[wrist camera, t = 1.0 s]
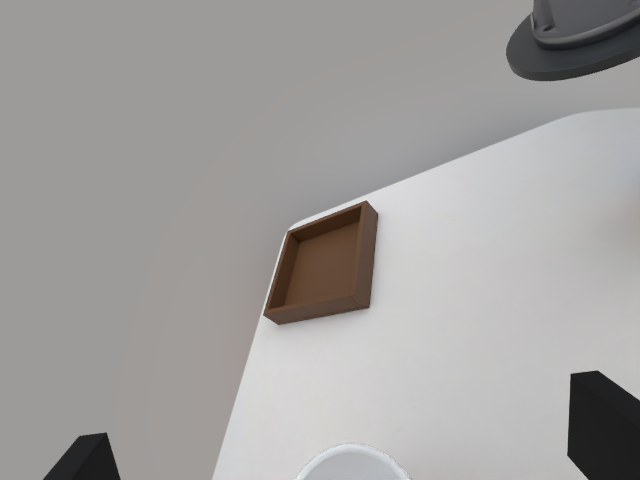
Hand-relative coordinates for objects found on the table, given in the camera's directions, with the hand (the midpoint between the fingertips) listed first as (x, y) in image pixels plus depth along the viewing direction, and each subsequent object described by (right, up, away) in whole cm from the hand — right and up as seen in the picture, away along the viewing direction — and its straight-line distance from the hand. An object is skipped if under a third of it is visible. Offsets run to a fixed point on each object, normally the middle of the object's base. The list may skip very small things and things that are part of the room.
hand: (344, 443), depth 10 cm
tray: (+1, +2, +38) cm, 38 cm away
